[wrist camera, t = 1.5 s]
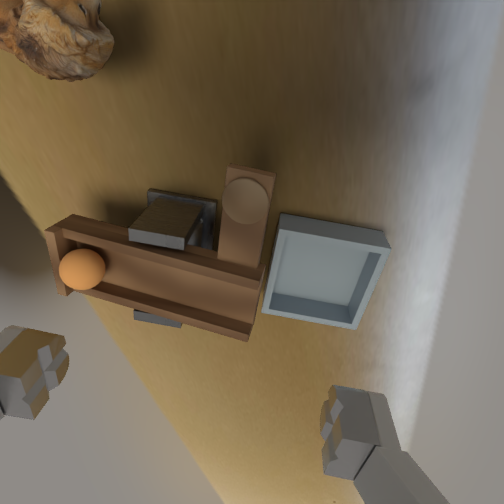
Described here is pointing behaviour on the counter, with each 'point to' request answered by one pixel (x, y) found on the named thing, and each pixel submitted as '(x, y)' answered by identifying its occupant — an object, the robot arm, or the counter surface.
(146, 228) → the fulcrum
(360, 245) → the tray
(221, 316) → the lever
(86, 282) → the ball
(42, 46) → the lion figurine
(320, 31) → the counter surface
